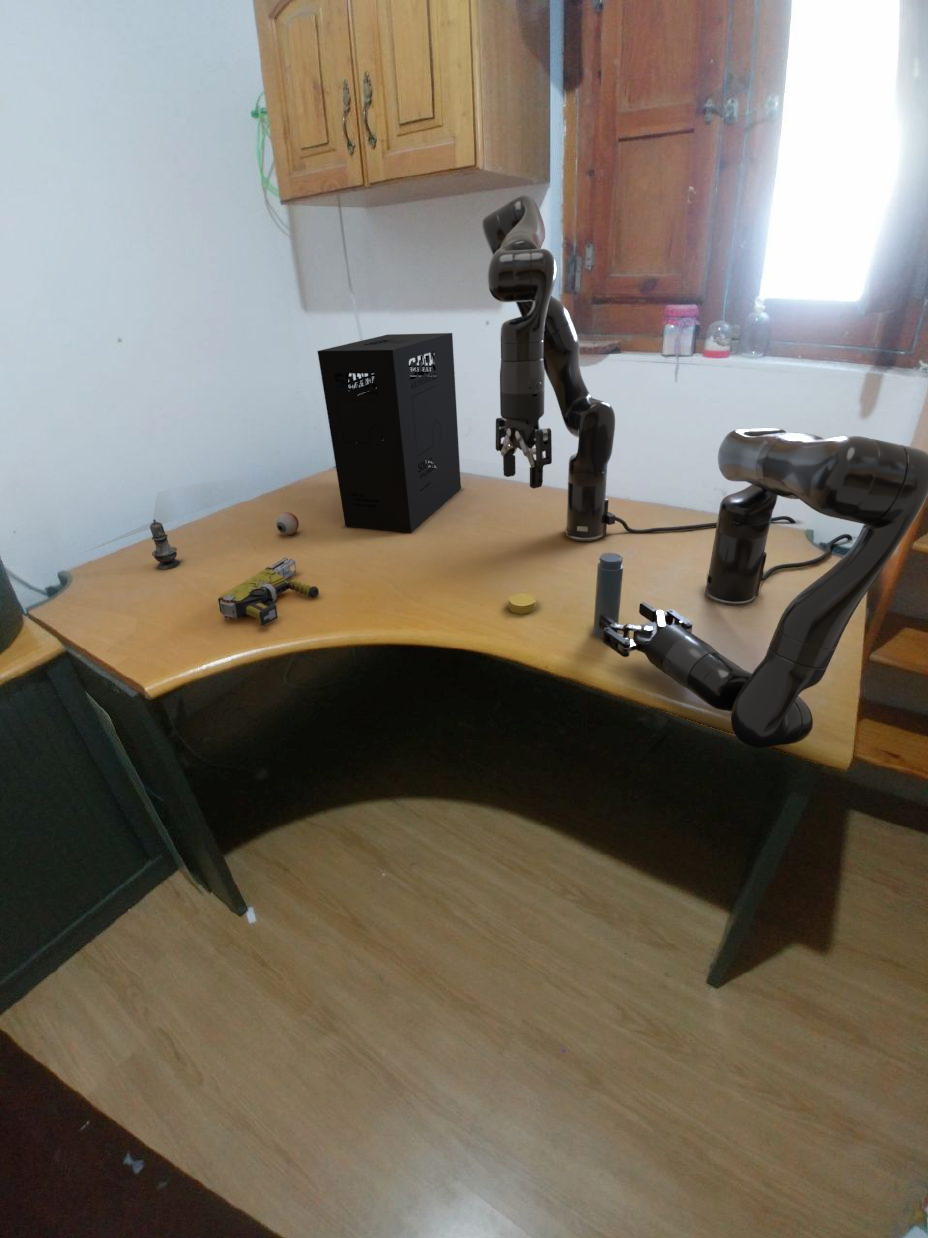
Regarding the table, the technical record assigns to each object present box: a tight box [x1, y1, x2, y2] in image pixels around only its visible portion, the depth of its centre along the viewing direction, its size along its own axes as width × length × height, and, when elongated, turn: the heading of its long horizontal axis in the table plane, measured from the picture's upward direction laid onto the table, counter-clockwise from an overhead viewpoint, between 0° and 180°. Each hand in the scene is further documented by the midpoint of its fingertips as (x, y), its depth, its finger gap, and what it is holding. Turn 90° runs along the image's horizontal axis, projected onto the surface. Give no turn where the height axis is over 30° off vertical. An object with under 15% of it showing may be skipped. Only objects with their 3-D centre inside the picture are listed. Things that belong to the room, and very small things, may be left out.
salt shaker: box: [149, 519, 181, 570], centre depth 148 cm, size 6×6×12 cm
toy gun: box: [217, 557, 320, 627], centre depth 130 cm, size 5×24×15 cm
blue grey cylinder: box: [592, 552, 624, 639], centre depth 109 cm, size 4×4×16 cm
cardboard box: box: [317, 332, 462, 534], centre depth 168 cm, size 38×20×45 cm, turn 159°
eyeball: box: [275, 511, 300, 536], centre depth 163 cm, size 6×6×6 cm
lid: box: [508, 592, 537, 615], centre depth 123 cm, size 5×5×2 cm
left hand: (522, 481), depth 110 cm, fingers open, 8 cm apart
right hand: (620, 613), depth 106 cm, fingers open, 8 cm apart
